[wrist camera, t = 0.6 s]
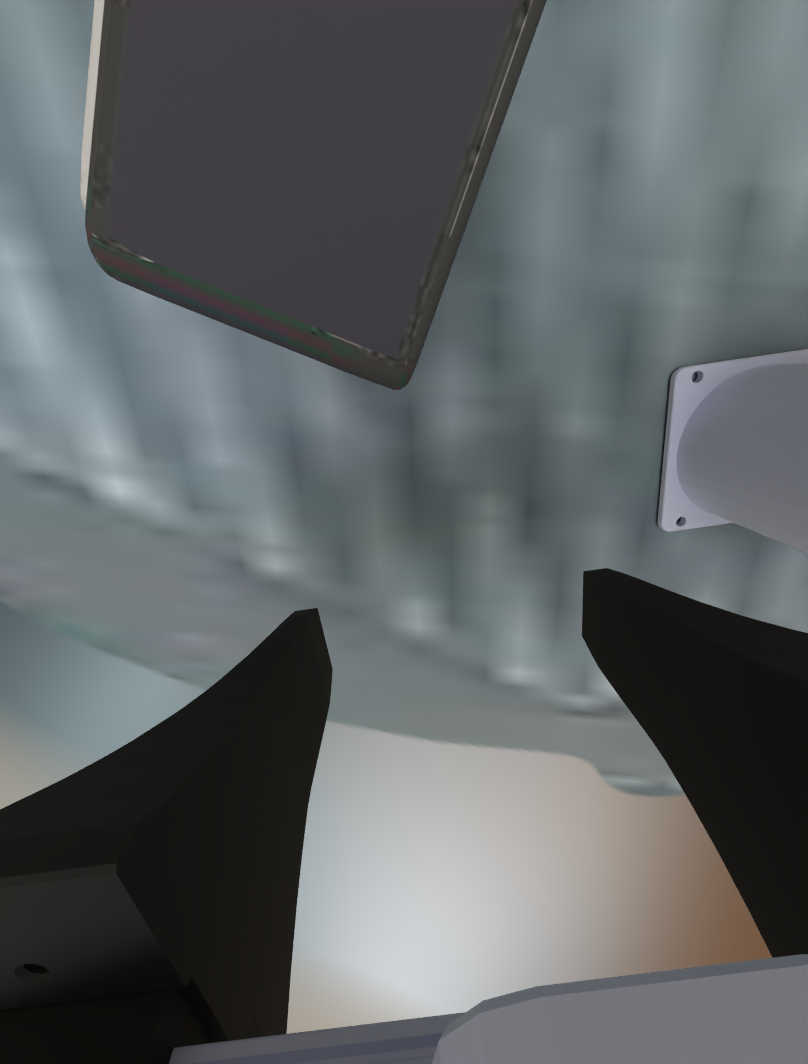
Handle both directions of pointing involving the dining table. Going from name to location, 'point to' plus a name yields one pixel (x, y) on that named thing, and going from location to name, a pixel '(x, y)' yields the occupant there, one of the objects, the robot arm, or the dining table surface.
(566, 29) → the dining table surface
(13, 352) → the dining table surface
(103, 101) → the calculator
